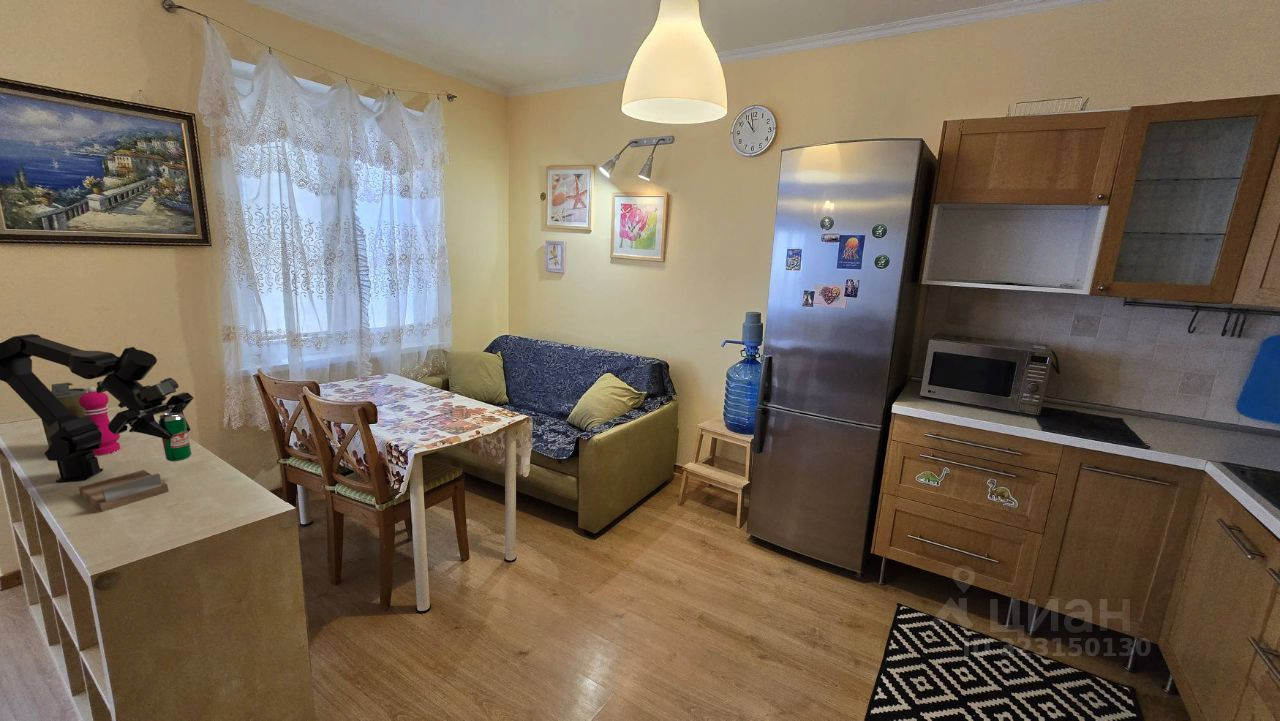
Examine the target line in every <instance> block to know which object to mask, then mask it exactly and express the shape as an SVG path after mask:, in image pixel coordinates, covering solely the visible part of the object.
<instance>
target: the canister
mask: <svg viewBox="0 0 1280 721" xmlns="http://www.w3.org/2000/svg"><path fill="white" fill-rule="evenodd" d="M73 385H74V384H73V383H72V382H62V383H61V382H60V383H53V384H51V390H50V391H51V392H52V393H53V394H54V395H55V396H56V397H57V399H58V400H59V401H60V402H61V403H62V404H63V405H64V406H65V407H66V408H67V409H68V410H69V411H70V412H71V413H72V414H73V415H74V416H77V417H84V416H87V415H85V414H84V413H85V412H84V409H85V408H83V407H82V406H80V404H79V398H80V397H81V396H82V395H83V394H85V393H87V392H88V391H87V388H77V387H75V388H70V386H73ZM41 422H42V426H43V430H44V434H45V438H46V441H47V446H48V448H49V447H50V446H51V445H52V442H51V441H50V439H49V427H48V425H47V424H46V423H45V422H44V421H43V420H42V419H41ZM38 424H39V425H38V426H41V425H40V423H38ZM39 428H40V430H42V429H41V427H39ZM40 432H41V433H42V431H40Z"/></svg>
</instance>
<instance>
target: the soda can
mask: <svg viewBox="0 0 1280 721" xmlns="http://www.w3.org/2000/svg"><path fill="white" fill-rule="evenodd" d="M185 419H186V417H185V414H184V415H182V413H181V412H172V413H167V414H163V413H162V414H161V415H159V419H158V424H160V425H161V426H162V427H163V428H164V429H165V430H166V431H167V432H168V433H169V434H170V435H171V436H172V438H171V439H169V440H167V439H163V438H161V439H162V445H163V452H164V455H165V459H166V460H167V461H169V462H179V461H184V460H187V459H189V458H190V457H191V456H192V454H193V453H192V448H191V444H190V438H189V432H187V426H186V421H187V420H186V421H185Z"/></svg>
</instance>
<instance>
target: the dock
mask: <svg viewBox="0 0 1280 721" xmlns="http://www.w3.org/2000/svg"><path fill="white" fill-rule="evenodd" d="M78 490H79V494H80V496H82V497H83V498H84V499H85V498H86V499H85V500H86V501H87V502H89V503H90V502H91V505H93V506H94V505H95V506H96V508H97V509H98V510H99V509H100V510H101V511H100V510H99V511H100V512H102V511H104V512H106V511H105V510H107V511H109V510H108V509H110V510H113V509H116V507H117V508H119V506H120V507H123V506H126V505H129V504H132V503H135V502H138V501H142V500H146V499H149V498H153V497H155V496H159V495H161V494H165V493H168V492H169V491H170V490H169V487H168V483H167V482H164V481H163V480H161V475H160V473H158V472H157V473H154V474H151V473H150V472H148V471H147V470H144V469H141V470H137V471H134V472H131V473H126V474H123V475H119V476H115V477H111V478H108V479H104V480H101V481H97V482H93V483H90V484H86V485H81V486H79V487H78ZM158 494H159V495H158ZM122 505H123V506H122ZM95 506H94V507H95ZM112 508H113V509H112Z"/></svg>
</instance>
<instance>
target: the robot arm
mask: <svg viewBox="0 0 1280 721" xmlns="http://www.w3.org/2000/svg"><path fill="white" fill-rule="evenodd" d="M31 357H36V358H39V359H42V360H46V361H48V362H52V363H55V364H58V365H62V366H65V367H67V368H68V369H69V370H70V373H72V374H73V375H76V376H77V377H79V378H82V379H84V380H93V379H99V378H102V377H104V378H103V380H100V381H97V382H96V385H97V386H96V387H95V388H96V392H97V393H101V392H103V393H105V392H107V393H109V395H111V396H113V398H114V399H116V400H117V401H118V402H119V403H118V404H117V406H118V407H119V408H120V409H123V408H126V409H125V410H122V411H119V412H117V413H116V414H115V416H114V417H113V418H112V419H111V420H110V423H109V424H108V429H109V430H110V431H111V432H112V433H113V434H115V435H116V434H122V433H125V432H127V431H128V432H129V433H133V432H134V433H139V434H142V435H143V434H144V435H147V436H153V437H157V438H160V439H162V438H163V439H167V440H169V439H171V438H172V436H171V435H170V434H169V433H168V432H167V431H166V430H165V429H164V428H163V427H162V426H161V425H160V424H159V422H158V421H157V420H156V419H155V416H156V415H157V414H162V415H163V414H167V413H172V412H181V413H182V415H184V416H185V414H184V411H185V409H186V408H187V407H188V405H190V403H191V402H192V401H193V400H194V399H195V398H194V396H192V395H191V394H190V393H189V392H180V393H176V392H177V390H176V389H179V387H180V386H179V384H178V382H177V381H176V380H175V379H173V378H172V377H167V378H164V379H163V380H160V382H159V383H156V384H153V385H149V384H148V385H145V386H144V385H143V384H141V383H140V381H142V380H143V379H144V378H146V376H147V375H148V374H149V373H150V371H152V368H154V366H156V364H157V362H158V360H157V358H156V356H155V354H153V353H150V352H148V351H146V350H141V349H137V348H136V347H135V346H130V347H126V348H124V349H123V351H122V353H121V355H119V356H117V355H116V354H114V353H112V352H109V351H103V350H102V351H101V350H84V349H80V348H77V347H73V346H70V345H66V344H63V343H61V342H57V341H55V340H51V339H47V338H45V337H42V336H41V335H39V334H34V333H29V334H21V335H16V336H12V337H10V338H8V339H5V340H4V341H2V342H0V381H2V382H4V383H6V384H7V385H8V386H9V387H10V388H11V389H12V390H13V391H14V392H15V393H16V394H17V395H18V396H19V398H20V399H22V401H24V402H25V404H26V405H28V407H29V408H31V410H32V411H33V412H34V413H35V414H36V416H37V417H39V418H40V419H41V421H42V420H43V421H44V422H45V423H46V424H47V425H48V427H49V439H50V441H51V442H52V445H51V446H50V447H49V446H48V448H47V449H46V451H45V452H44V456H45V457H46V459H47V460H48V461H49V462H54V461H55V462H56V463H57V464H56V465H57V468H58V471H59V476H60V478H58V479H56V480H55V482H56V483H63V482H65V483H66V482H75V481H85V480H88V479H90V478H92V477H93V476H95V475H97V474H99V473H101V472H103V471H104V468H100V464H99V460H98V457H97V456H96V455H95V454H94V451H93V450H96V449H100V445H101V438H102V433H101V431H100V430H99V429H98V428H99V426H98V425H96V424H95V423H94V422H93V421H92V419H91V418H90V417H88V416H84V417H77V416H74V415H73V414H72V413H71V412H70V411H69V410H68V409H67V408H66V407H65V406H64V405H63V404H62V403H61V402H60V401H59V400H58V399H57V397H56V396H55V395H54V394H53V393H52V392H51V391H52V390H50V389H49V388H48V386H46V385H45V383H43V382H42V381H41V379H40V378H39V377H38V376H37V375H36V374H35V373H34V371H33V360H32V358H31ZM172 393H173V394H174V393H176V394H174V395H171V394H172ZM168 395H171V397H169V399H168V397H167V396H168ZM167 399H168V400H167ZM165 400H167V402H165V403H163V402H164V401H165ZM185 421H186V426H187V432H188V433H189V432H190V431H191V428H190V425H189V423H188V421H187V419H186V418H185ZM128 425H129V426H130V429H129V430H128V428H129V427H128Z"/></svg>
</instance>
